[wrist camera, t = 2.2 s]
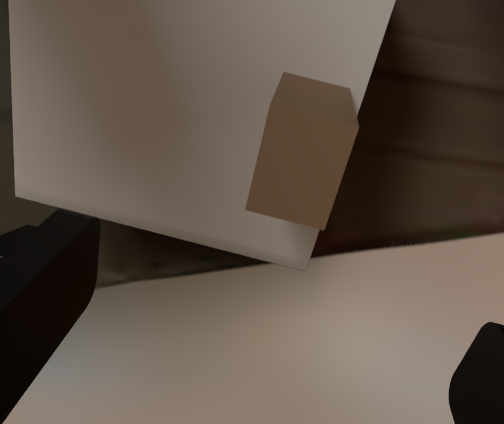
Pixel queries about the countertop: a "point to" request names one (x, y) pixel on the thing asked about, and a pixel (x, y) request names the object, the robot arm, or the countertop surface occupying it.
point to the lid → (193, 113)
